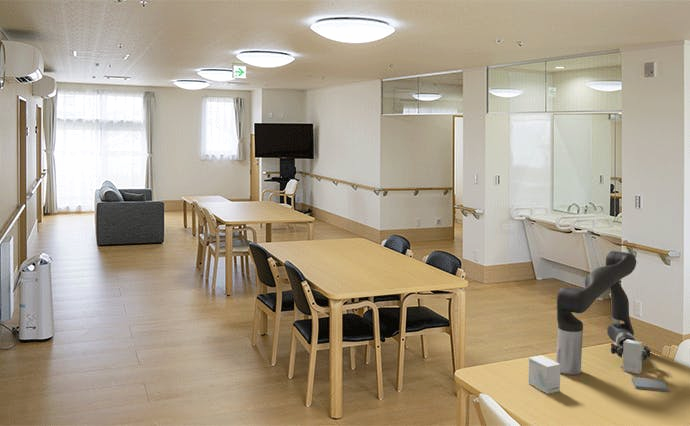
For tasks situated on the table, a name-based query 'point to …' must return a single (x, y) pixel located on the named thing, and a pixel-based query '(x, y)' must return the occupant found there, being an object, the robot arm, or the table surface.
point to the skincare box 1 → (544, 374)
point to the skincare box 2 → (632, 356)
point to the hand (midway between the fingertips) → (633, 356)
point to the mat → (649, 384)
